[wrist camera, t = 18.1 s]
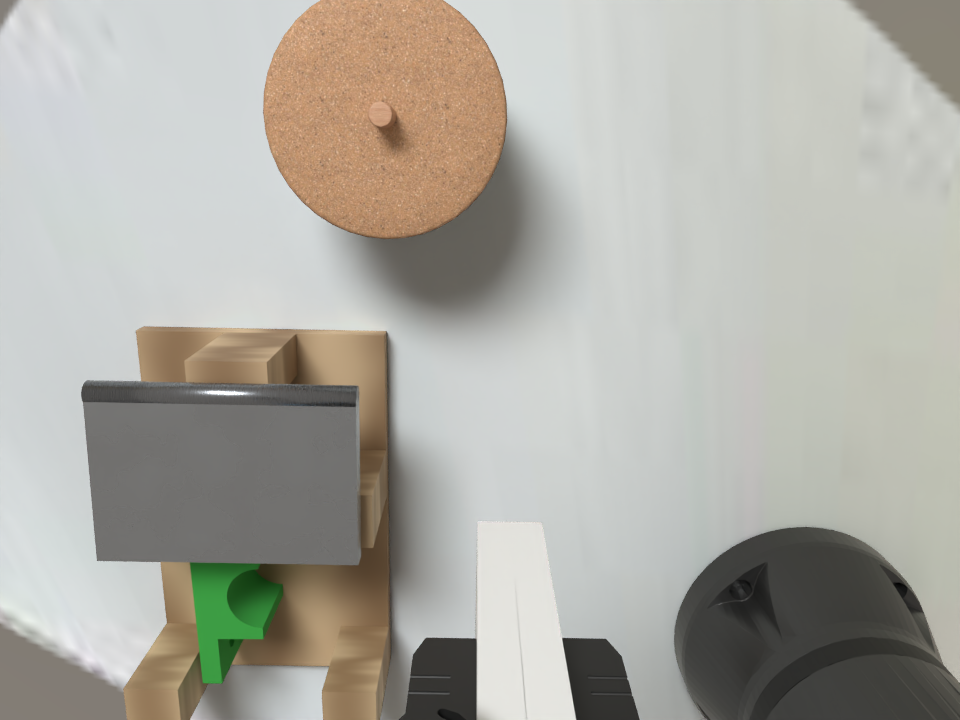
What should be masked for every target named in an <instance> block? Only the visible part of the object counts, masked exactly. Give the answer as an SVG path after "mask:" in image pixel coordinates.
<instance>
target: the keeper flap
mask: <svg viewBox="0 0 960 720" xmlns="http://www.w3.org/2000/svg"><path fill="white" fill-rule="evenodd" d="M81 396H82V401H83V406H84V417H85V429H86V440H87V452H88V463H89V474H90V486H91V497H92V509H93V520H94V531H95V543H96V554H97V561H137V562H196V563H255V564H315V565H358V564H359V561H360V558H361V505H360V423H359V386H358V385H306V384H253V383H200V382H147V381H94V380H88V381H86V382H85V383H84V384H83V387H82V392H81Z"/></svg>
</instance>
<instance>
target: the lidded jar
mask: <svg viewBox="0 0 960 720" xmlns="http://www.w3.org/2000/svg"><path fill="white" fill-rule="evenodd" d="M263 114H264V122H265V130H266V135H267V139H268V143H269V146H270V150H271V153H272V155H273V157H274V160H275V162H276V164H277V167H278V169H279V171H280V172H281V174H282V176H283V177H284V179H285V180H286V182H287V184H288V185H289V187H290V188H291V189H292V190H293V192H294V193H295V194H296V195H297V196H298V197H299V199H300V200H301V201H302V202H303V203H304V204H305V205H306V206H308V207H309V208H310V209H311V210H312V211H313V212H314V213H316V214H317V215H318V216H320V217H322V218H323V219H325V220H326V221H328V222H329V223H331V224H332V225H335V226H337V227H339V228H341V229H344V230H346V231H348V232H351V233H355V234H358V235H362V236H366V237H372V238H381V239H396V238H407V237H412V236H416V235H421V234H424V233H427V232H429V231H432V230H435V229H437V228H439V227H441V226H443V225H445V224H446V223H448V222H450V221H451V220H453V219H455V218H456V217H457V216H459V215H460V214H461V213H462V212H463V211H465V210H466V209H467V208H468V207H469V206H470V205H471V204H472V203H473V202H474V201H475V200H476V199H477V197H478V196H479V195H480V194H481V193H482V191H483V190H484V188H485V187H486V185H487V184H488V182H489V180H490V179H491V177H492V175H493V173H494V171H495V169H496V166H497V164H498V162H499V159H500V156H501V152H502V149H503V145H504V141H505V134H506V125H507V106H506V96H505V91H504V85H503V80H502V77H501V74H500V72H499V69H498V66H497V63H496V60H495V58H494V57H493V55H492V53H491V51H490V49H489V47H488V45H487V43H486V42H485V40H484V39H483V38H482V36H481V35H480V34H479V32H478V31H477V30H476V28H475V27H474V26H473V25H472V24H471V23H470V22H469V21H468V20H467V19H466V18H465V17H464V16H463V15H462V14H461V13H460V12H459V11H458V10H456V9H455V8H453V7H452V6H450V5H449V4H448V3H446V2H445V1H443V0H320V1H319V2H317V3H316V4H314V5H313V6H311V7H310V8H309V9H308V10H307V11H306V12H304V13H303V14H302V15H301V16H300V17H299V18H298V19H297V20H296V21H295V22H294V24H293V25H292V26H291V27H290V29H289V30H288V31H287V33H286V34H285V35H284V37H283V38H282V40H281V42H280V44H279V46H278V48H277V50H276V51H275V53H274V56H273V59H272V62H271V64H270V67H269V70H268V73H267V79H266V84H265V90H264V109H263Z"/></svg>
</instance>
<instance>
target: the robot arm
mask: <svg viewBox="0 0 960 720" xmlns="http://www.w3.org/2000/svg"><path fill="white" fill-rule="evenodd" d="M674 643H675V653H676V658H677V662H678V665H679V668H680V671H681V673H682V676H683V678H684V681H685V683H686V686H687V688H688V691H689V693H690V695H691V697H692V699H693V701H694V702H695V704H696V706H697V707H698V709H699V710H700V711H701V713H702V714H703V715H704V716H705V718H706V719H707V720H960V683H959V682H958V681H957V680H956V678H955V677H954V676H953V675H952V674H951V673H950V672H949V671H948V670H947V669H946V667H945V666H944V665H943V662H942V660H941V657H940V654H939V652H938V649H937V646H936V644H935V641H934V639H933V636H932V633H931V631H930V628H929V625H928V623H927V620H926V617H925V615H924V612H923V610H922V607H921V605H920V602H919V600H918V598H917V596H916V595H915V593H914V591H913V590H912V588H911V587H910V585H909V584H908V583H907V581H906V580H905V579H904V578H903V577H902V576H901V574H900V573H899V572H898V571H897V570H896V569H895V568H894V567H893V566H892V565H891V564H890V563H889V562H888V561H887V560H886V559H885V558H884V557H883V556H882V555H880V554H879V553H878V552H877V551H876V550H874V549H873V548H872V547H870V546H869V545H867V544H866V543H864V542H862V541H860V540H859V539H856V538H854V537H852V536H850V535H847V534H844V533H841V532H837V531H834V530H828V529H822V528H812V527H797V528H786V529H780V530H775V531H771V532H767V533H764V534H760V535H758V536H755V537H752V538H750V539H748V540H745V541H743V542H741V543H739V544H737V545H736V546H734V547H732V548H731V549H729V550H727V551H726V552H724V553H723V554H722V555H720V556H719V557H718V558H716V559H715V560H714V561H713V562H712V563H711V564H710V565H708V566H707V567H706V568H705V570H704V571H703V572H702V573H701V574H700V575H699V576H698V578H697V579H696V580H695V581H694V583H693V584H692V586H691V587H690V589H689V591H688V592H687V594H686V596H685V598H684V600H683V602H682V605H681V607H680V610H679V613H678V616H677V621H676V626H675V636H674ZM399 720H639V716H638V713H637V709H636V706H635V702H634V699H633V696H632V692H631V688H630V685H629V681H628V680H627V674H626V671H625V667H624V664H623V660H622V657H621V655H620V654H619V653H618V652H617V651H616V650H615V649H614V647H613V646H612V645H611V644H610V643H609V642H608V641H607V640H606V639H583V638H562V635H561V630H560V624H559V618H558V612H557V607H556V601H555V595H554V589H553V584H552V578H551V572H550V566H549V560H548V555H547V549H546V543H545V537H544V532H543V526H542V522H492V521H478V523H477V569H476V615H475V639H469V638H425V640H424V641H423V642H422V644H421V645H420V646H419V648H418V649H417V650H416V652H415V653H414V654H413V660H412V668H411V677H410V683H409V691H408V698H407V706H406V713H405V714H404V715H403V716H402V717H401V718H400V719H399Z"/></svg>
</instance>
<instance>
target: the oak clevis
mask: <svg viewBox="0 0 960 720" xmlns="http://www.w3.org/2000/svg"><path fill="white" fill-rule="evenodd" d="M136 335H137V345H138V354H139V364H140V373H141V381H147V382H200V383H253V384H306V385H358V386H359V423H360V505H361V558H360V561H359V564H358V565H315V564H260V566H259V568H258V569H256V572H257V573H258V574H259V575H260V576H261V577H263V578H264V579H266V580H268V581H270V582H273V583H277V584H283V596H282V599H281V601H280V603H279V605H278V608H277V610H276V612H275V615H274V617H273V619H272V621H271V624H270V626H269V628H268V630H267V633H266V635H265V637H264V639H243V641H242V643H241V646H240V648H239V650H238V652H237V654H236V656H235V658H234V660H233V662H232V664H231V665H292V666H329V669H328V673H327V676H326V680H325V683H324V687H323V690H322V705H323V720H380V716H381V711H382V705H383V699H384V693H385V688H386V682H387V676H388V670H389V665H390V659H391V633H390V559H389V486H388V412H387V338H386V331H345V330H294V329H242V328H190V327H142V328H140V329H138V330H136ZM161 571H162V580H163V590H164V599H165V609H166V618H167V624H166V625H165V627H164V628H163V630H162V631H161V633H160V634H159V636H158V637H157V639H156V640H155V642H154V643H153V645H152V646H151V648H150V650H149V651H148V653H147V654H146V656H145V657H144V659H143V660H142V662H141V663H140V665H139V666H138V668H137V669H136V671H135V672H134V674H133V675H132V677H131V678H130V680H129V681H128V683H127V684H126V686H125V687H124V689H123V690H124V698H125V705H126V714H127V720H190V718H191V716H192V714H193V713H194V711H195V709H196V707H197V705H198V703H199V701H200V699H201V697H202V695H203V693H204V691H205V689H206V687H207V685H208V683H203V681H202V671H201V662H200V653H199V644H198V634H197V625H196V616H195V607H194V597H193V588H192V579H191V570H190V562H161Z"/></svg>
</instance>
